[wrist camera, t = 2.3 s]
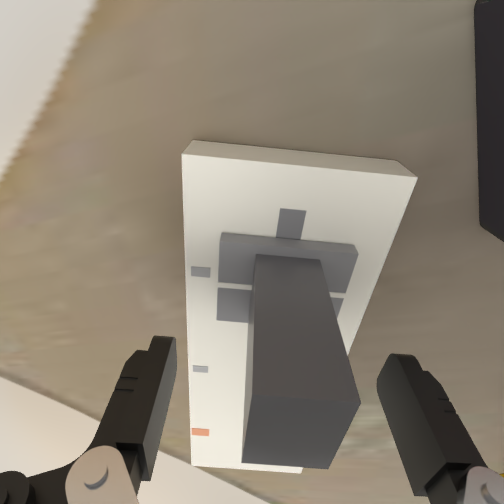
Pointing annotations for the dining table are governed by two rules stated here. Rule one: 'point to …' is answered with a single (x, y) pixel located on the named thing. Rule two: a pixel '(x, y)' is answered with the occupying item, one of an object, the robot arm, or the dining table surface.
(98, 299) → the dining table surface
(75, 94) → the dining table surface
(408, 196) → the fader console
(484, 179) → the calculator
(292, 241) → the fader tab
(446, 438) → the robot arm
